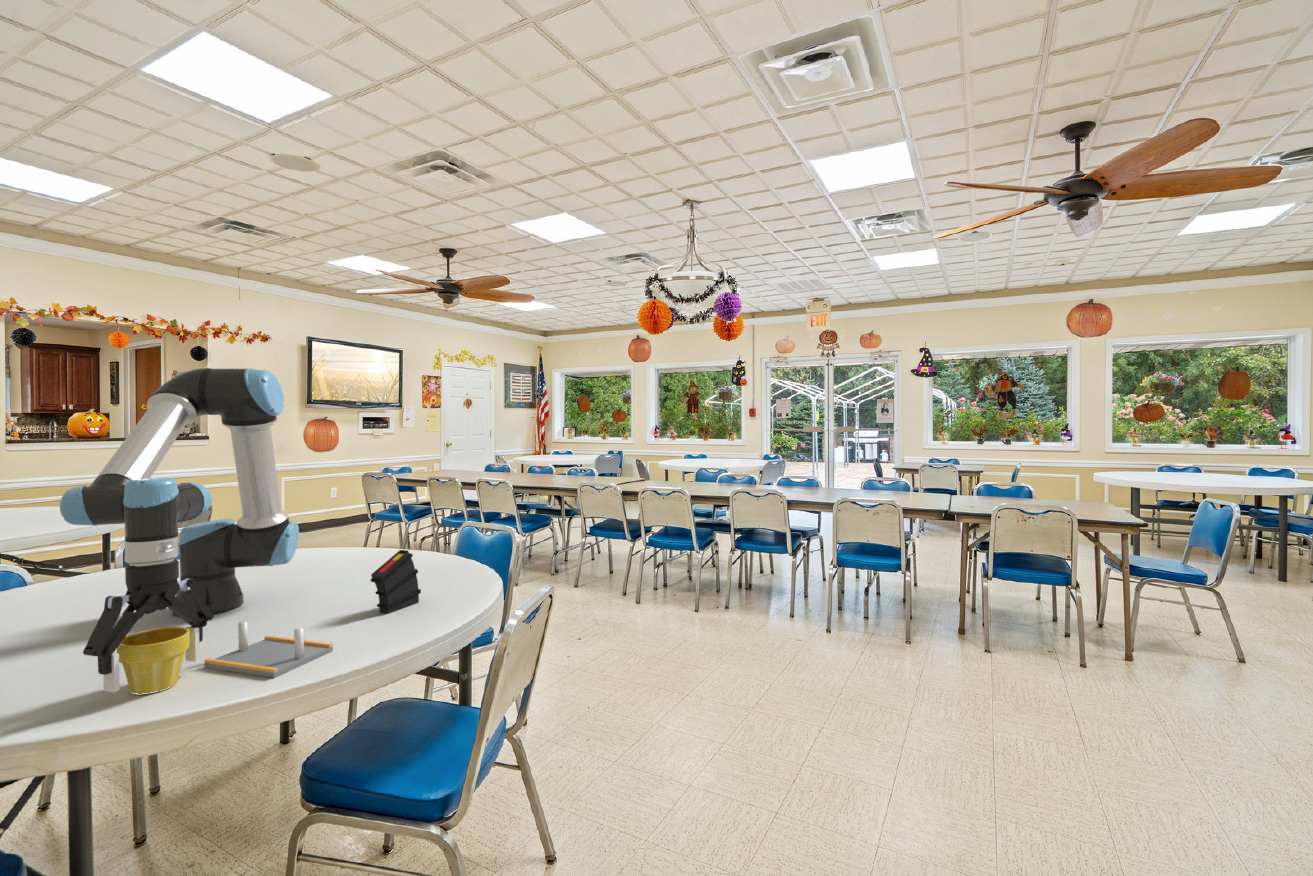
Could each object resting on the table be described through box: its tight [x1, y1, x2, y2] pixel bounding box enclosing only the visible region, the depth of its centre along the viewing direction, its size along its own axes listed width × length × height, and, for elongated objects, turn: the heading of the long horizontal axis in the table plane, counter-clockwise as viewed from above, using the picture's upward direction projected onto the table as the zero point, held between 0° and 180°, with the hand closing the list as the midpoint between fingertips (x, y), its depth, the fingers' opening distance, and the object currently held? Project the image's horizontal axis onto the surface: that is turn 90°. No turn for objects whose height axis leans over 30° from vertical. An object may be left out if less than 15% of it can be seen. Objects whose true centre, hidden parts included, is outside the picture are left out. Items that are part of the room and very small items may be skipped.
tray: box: [203, 620, 334, 679], centre depth 121 cm, size 18×14×7 cm
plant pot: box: [116, 626, 190, 694], centre depth 108 cm, size 10×10×10 cm
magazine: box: [370, 549, 422, 614], centre depth 155 cm, size 4×13×15 cm, turn 157°
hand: (154, 674), depth 108 cm, fingers open, 13 cm apart
